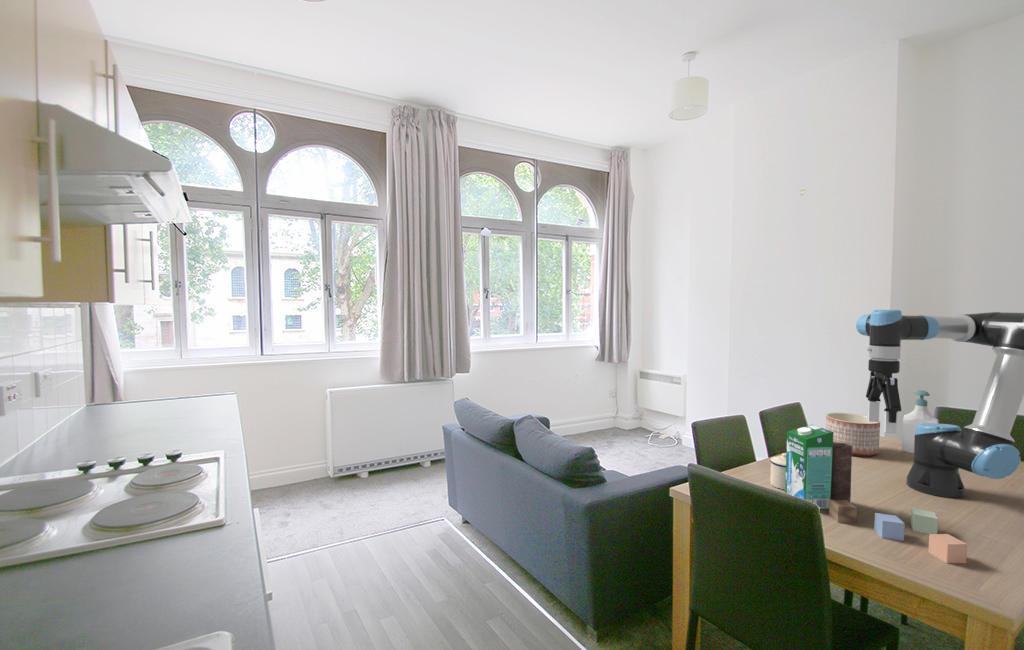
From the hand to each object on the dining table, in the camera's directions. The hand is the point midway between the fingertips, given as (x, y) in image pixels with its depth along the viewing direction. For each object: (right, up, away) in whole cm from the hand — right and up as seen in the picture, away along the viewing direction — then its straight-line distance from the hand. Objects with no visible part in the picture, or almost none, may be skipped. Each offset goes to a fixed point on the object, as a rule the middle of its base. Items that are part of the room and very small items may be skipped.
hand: (881, 427), depth 143 cm
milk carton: (-19, -27, +7) cm, 33 cm away
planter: (+35, -24, +60) cm, 74 cm away
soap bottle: (+64, -24, +59) cm, 90 cm away
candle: (-10, -27, +7) cm, 29 cm away
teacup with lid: (-17, -26, +22) cm, 38 cm away
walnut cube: (-15, -27, -4) cm, 31 cm away
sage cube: (+4, -27, -11) cm, 30 cm away
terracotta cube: (-3, -28, -25) cm, 38 cm away
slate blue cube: (-9, -28, -14) cm, 32 cm away
